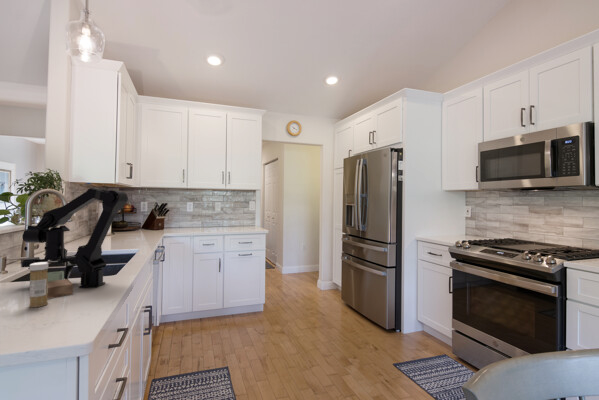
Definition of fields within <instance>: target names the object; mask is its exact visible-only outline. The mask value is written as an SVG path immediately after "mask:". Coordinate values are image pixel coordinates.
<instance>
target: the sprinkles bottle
mask: <svg viewBox="0 0 599 400" xmlns="http://www.w3.org/2000/svg"><path fill="white" fill-rule="evenodd" d="M48 269H49V263H47V262H38V263H32V264H30V269H29V273H30V274H29V279H30V280H29V307H30V308H39V307H44V306H46V305H48V303H49V301H48V299H47V293H48V272H49V270H48Z"/></svg>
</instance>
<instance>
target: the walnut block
mask: <svg viewBox="0 0 599 400" xmlns="http://www.w3.org/2000/svg"><path fill="white" fill-rule="evenodd" d="M71 295H74V283H72V281H70V279H69V278H68V279H65V278H64V279H63V280H56V281H49V282H48V293H47V300H48V299H53V298H59V297H60V298H61V297H64V296H71Z"/></svg>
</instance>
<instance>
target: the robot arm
mask: <svg viewBox="0 0 599 400" xmlns="http://www.w3.org/2000/svg"><path fill="white" fill-rule="evenodd" d="M96 200H97V201H102V202H101V205H102V206H101V207H102V210H101V213H100V215H99V217H98V219H97V221H96V224H95V225H94V228H93V231H92V233H91V235H90V237H89V239H88V242H87V243H86V244H84V245H80V246H79V245H78V248H77V250H76V253H75V254H73V255H71V256H70V257H68V249H66V247H65V232H70V231H71V229H70V228H68V227H67V226H66V224H67V222H69V221H70V220H71V219H72V217H73V216H74V215H75V214H76V213H78V212H79V211H80V210H83V208H85V207H87V206H88V205H90V204H91V203H93V202H95V201H96ZM128 201H129V197H128V194H127V193H126V192H125V191H124V190H123V191H122V190H114V189H113V190H105V189H101V188H99V187H98V188H97V187H90V188H88V189H87V190H86V191H85V192H83V193H82V194H80V195H78V196H77V197H75V198H73V199H72V200H70V201H69V202H67V203H66V204H64V205H63V206H60V207H55V208H53V209H50V210H48V211H46V212H44V213H43V214H42V217H41V219H40V221H38V223H37V224H36V225H35V224H34V225H32V224H31V225H27V227H26V229H25V230H24V231H23V234H22V235H21V236H22V240H23V242H24V243H26V244H44V243H45V245H44V258H40V256H36V257H32V256H31V257H27V258H24V259H22V261H21V262H20V263H21V264H20V266H21V267H20V268H28V270H30V264H32V263H38V262H47V263H48V264H61V263H62V264H63V263H64V264H65V263H67V264H66V265H65V270H64V279H68V280H69V278H70V275H71V273H72V271H73V268H74V267H76V266H77V270H78V271H79V273H81V274H80V285H79V286H78V287H79V289H80V288H85V289H86V288H91V289H92V288H98V287H100V286H102V285H104V284H106V281H104V269H105V268H106V266H107V264H108V262H106V260H105V259H104V258H103V257H102V253H103V251H102V245H103V243H104V241H105V239H106V238H107V237H106V236H107V235H108V232H109V230H110V228H111V226H112V224H113V221H114V219H115V217H116V215H117V214H118V212H120V211H121V210H122V209H123V208H124V206H125V205H127V204H126V203H128Z"/></svg>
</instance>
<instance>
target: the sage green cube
mask: <svg viewBox="0 0 599 400" xmlns="http://www.w3.org/2000/svg"><path fill="white" fill-rule="evenodd" d="M47 272H48V282H49V281H56V280H63V279H65V270H60V271H47Z"/></svg>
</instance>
